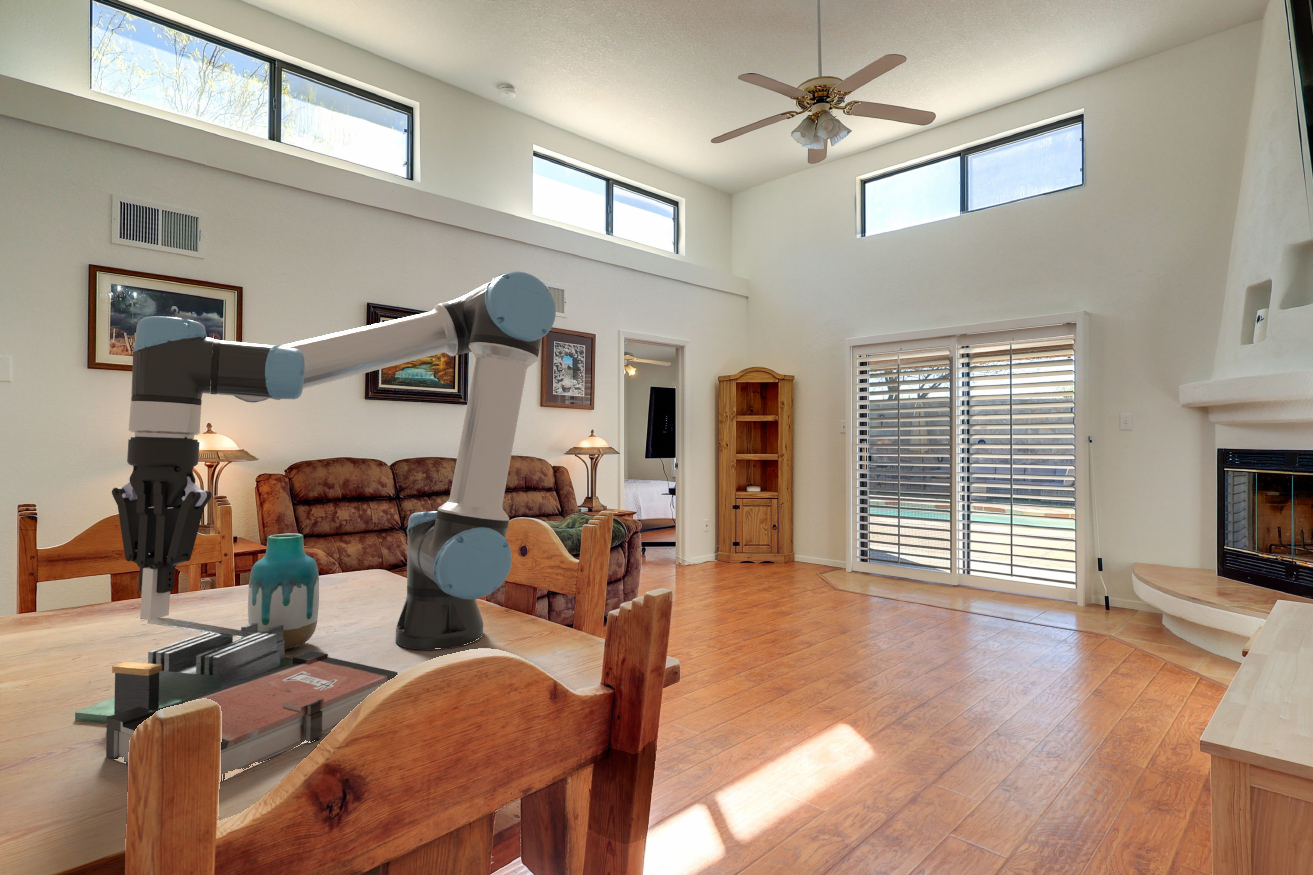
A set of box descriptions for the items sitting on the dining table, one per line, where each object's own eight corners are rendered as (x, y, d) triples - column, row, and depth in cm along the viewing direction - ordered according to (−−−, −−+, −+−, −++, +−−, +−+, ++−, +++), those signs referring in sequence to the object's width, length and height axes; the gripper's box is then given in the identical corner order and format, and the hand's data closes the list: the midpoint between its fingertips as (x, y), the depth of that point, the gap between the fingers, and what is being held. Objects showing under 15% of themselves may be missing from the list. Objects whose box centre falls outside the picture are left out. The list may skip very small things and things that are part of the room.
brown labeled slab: (203, 798, 67) (204, 749, 67) (106, 761, 75) (106, 716, 75) (400, 705, 91) (401, 669, 91) (312, 684, 98) (313, 650, 98)
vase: (268, 661, 106) (270, 542, 106) (234, 649, 112) (236, 536, 112) (331, 645, 115) (332, 534, 115) (296, 634, 121) (298, 529, 121)
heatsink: (311, 665, 105) (311, 621, 105) (178, 730, 81) (179, 673, 81) (227, 658, 108) (228, 615, 108) (75, 720, 84) (76, 664, 84)
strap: (269, 640, 104) (271, 635, 105) (166, 624, 86) (169, 618, 87) (253, 639, 105) (254, 634, 105) (146, 623, 87) (149, 616, 87)
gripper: (231, 438, 90) (221, 614, 89) (148, 436, 92) (138, 607, 91) (183, 436, 83) (172, 627, 82) (94, 433, 85) (83, 620, 84)
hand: (154, 616), depth 87 cm, fingers closed
